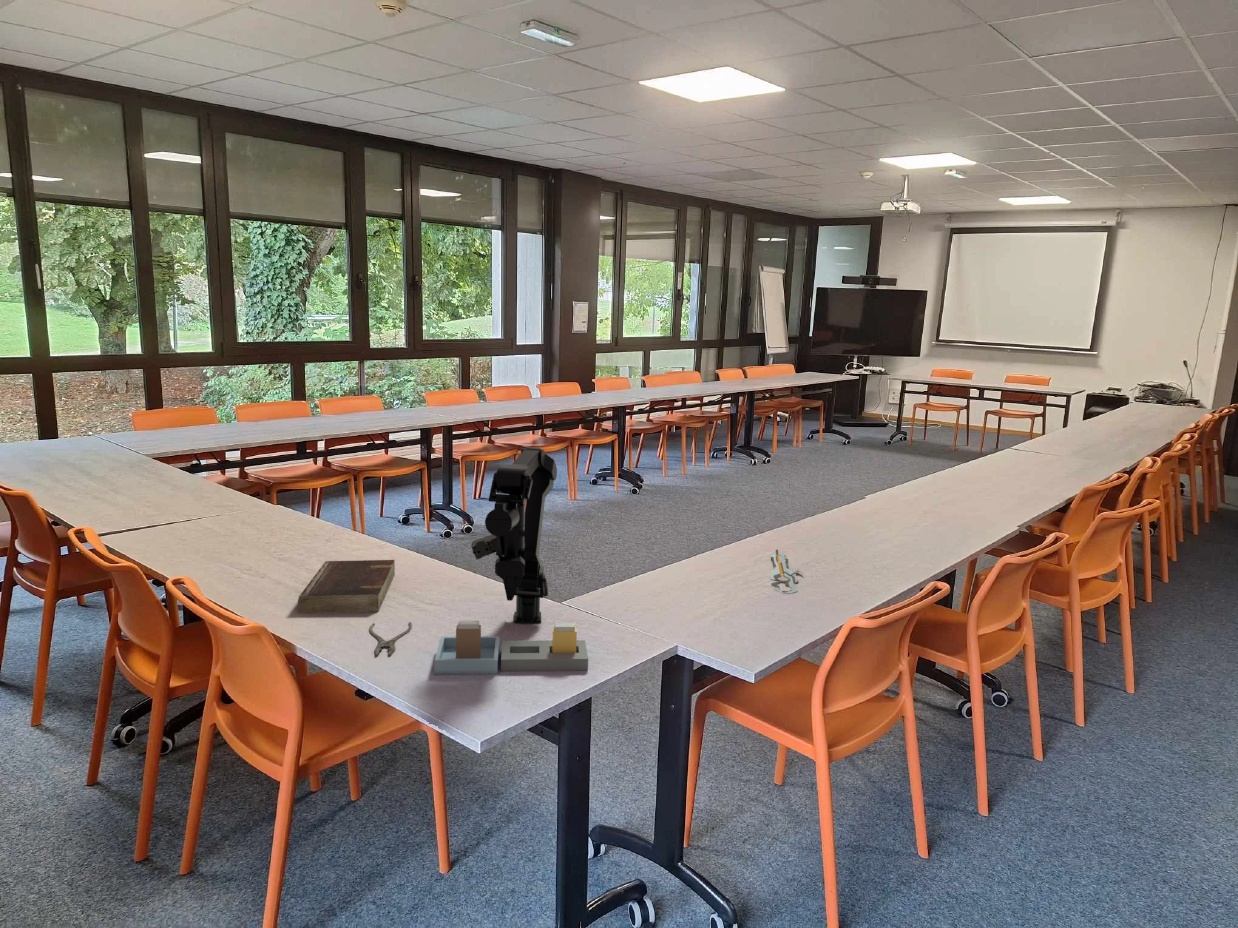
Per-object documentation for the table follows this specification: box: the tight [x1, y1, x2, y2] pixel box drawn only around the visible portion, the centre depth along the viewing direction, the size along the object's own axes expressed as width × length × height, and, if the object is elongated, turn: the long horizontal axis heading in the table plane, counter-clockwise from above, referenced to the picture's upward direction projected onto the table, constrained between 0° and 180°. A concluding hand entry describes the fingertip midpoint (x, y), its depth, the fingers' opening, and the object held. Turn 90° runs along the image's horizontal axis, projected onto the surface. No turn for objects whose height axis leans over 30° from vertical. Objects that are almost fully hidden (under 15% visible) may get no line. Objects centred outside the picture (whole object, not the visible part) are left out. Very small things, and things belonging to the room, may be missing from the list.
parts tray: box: [434, 635, 501, 675], centre depth 170 cm, size 13×13×3 cm
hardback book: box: [297, 559, 396, 614], centre depth 209 cm, size 29×19×5 cm, turn 8°
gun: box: [769, 549, 804, 595], centre depth 242 cm, size 39×2×10 cm
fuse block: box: [500, 639, 589, 672], centre depth 172 cm, size 10×18×2 cm, turn 96°
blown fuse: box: [455, 620, 482, 659], centre depth 170 cm, size 2×5×8 cm, turn 96°
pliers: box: [368, 621, 413, 658], centre depth 181 cm, size 10×1×20 cm
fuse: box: [552, 622, 578, 653], centre depth 172 cm, size 2×5×8 cm, turn 96°
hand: (510, 593), depth 178 cm, fingers open, 9 cm apart
